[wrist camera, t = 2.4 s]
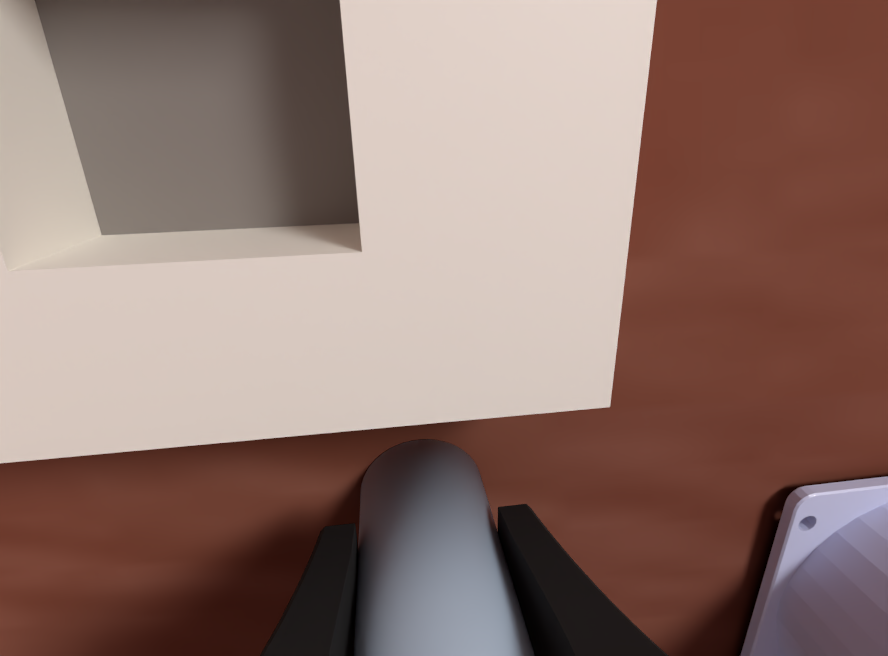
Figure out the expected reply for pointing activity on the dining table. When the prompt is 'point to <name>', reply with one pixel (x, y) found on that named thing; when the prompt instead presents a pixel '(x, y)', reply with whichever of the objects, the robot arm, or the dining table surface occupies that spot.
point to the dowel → (432, 560)
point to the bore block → (309, 215)
